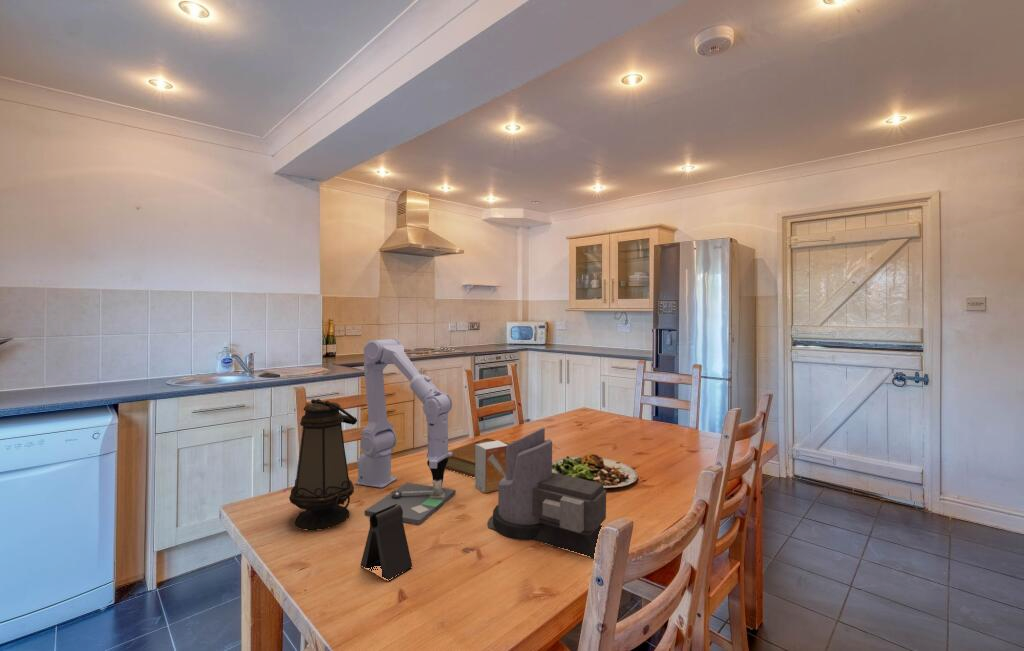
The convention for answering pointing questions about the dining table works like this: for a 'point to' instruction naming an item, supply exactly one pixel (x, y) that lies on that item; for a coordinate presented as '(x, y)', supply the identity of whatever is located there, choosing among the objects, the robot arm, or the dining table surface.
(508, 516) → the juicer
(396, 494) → the metal crank handle
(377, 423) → the robot arm
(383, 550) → the black tent sign
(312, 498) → the lantern
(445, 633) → the dining table surface
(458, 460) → the diary
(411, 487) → the dial board
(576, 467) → the plate of food
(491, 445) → the small box
